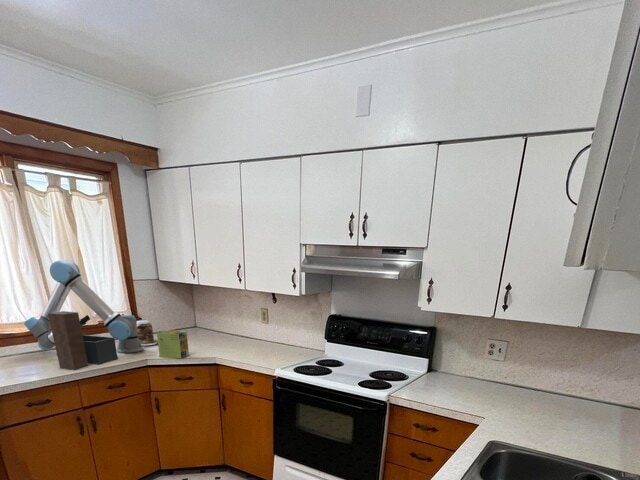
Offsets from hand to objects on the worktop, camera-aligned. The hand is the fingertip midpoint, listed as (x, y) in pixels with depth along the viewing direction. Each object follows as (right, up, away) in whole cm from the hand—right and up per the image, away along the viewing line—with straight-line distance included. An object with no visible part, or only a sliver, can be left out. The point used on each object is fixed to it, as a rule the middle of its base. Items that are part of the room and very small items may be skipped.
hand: (80, 318), depth 249 cm
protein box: (+47, -18, +25) cm, 56 cm away
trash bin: (+2, -23, +9) cm, 25 cm away
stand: (+1, -30, -8) cm, 31 cm away
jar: (+12, -1, +62) cm, 64 cm away
